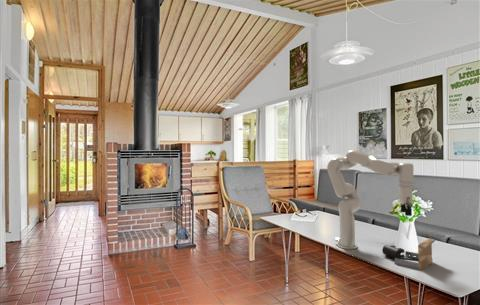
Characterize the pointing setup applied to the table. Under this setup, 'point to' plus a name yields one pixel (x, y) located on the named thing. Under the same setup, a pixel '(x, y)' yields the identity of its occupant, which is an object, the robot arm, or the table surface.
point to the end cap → (393, 252)
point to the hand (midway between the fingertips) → (406, 213)
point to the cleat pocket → (408, 263)
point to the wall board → (425, 253)
